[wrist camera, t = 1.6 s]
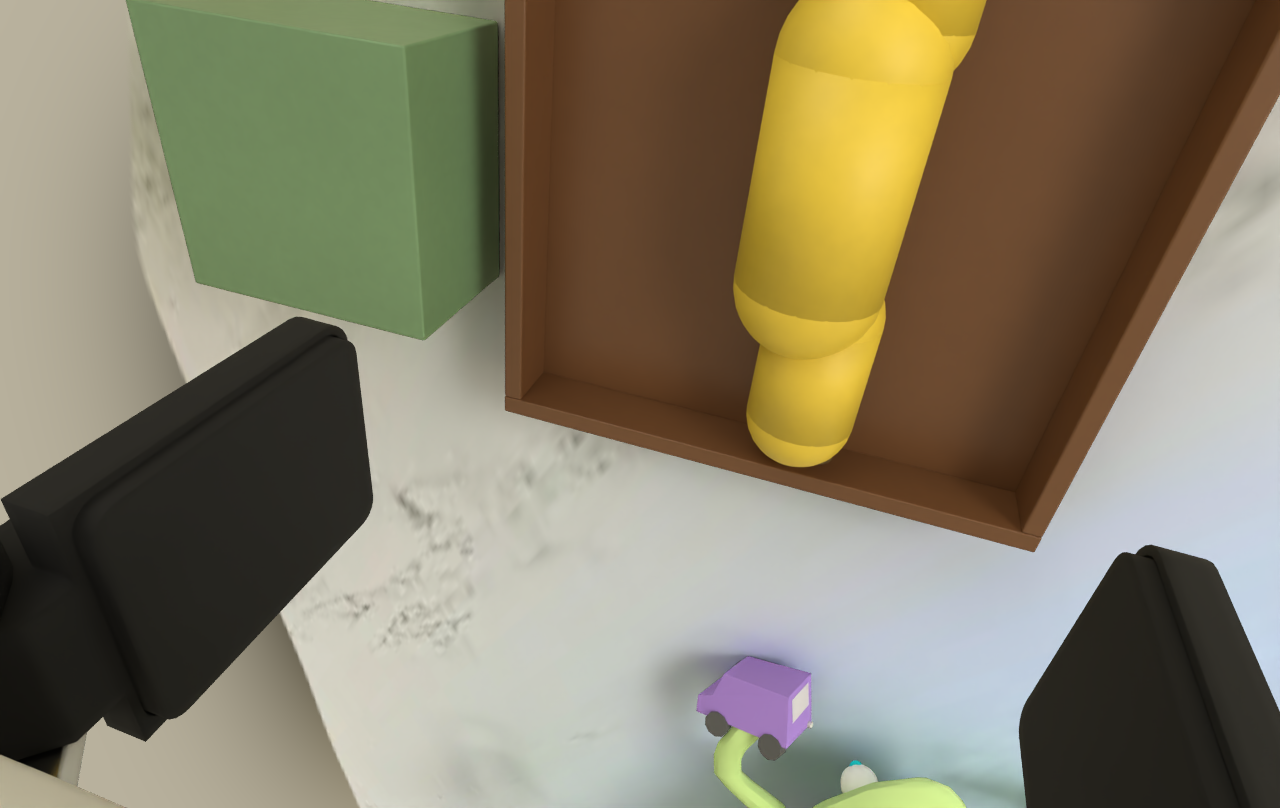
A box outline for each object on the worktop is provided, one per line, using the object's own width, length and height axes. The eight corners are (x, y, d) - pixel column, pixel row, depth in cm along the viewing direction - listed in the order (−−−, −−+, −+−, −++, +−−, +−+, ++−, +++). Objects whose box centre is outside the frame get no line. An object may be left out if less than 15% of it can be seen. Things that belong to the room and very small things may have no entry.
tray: (552, -337, 18) (502, -370, 16) (1417, -282, 14) (1501, -315, 12) (535, 374, 28) (504, 410, 26) (1025, 499, 25) (1034, 553, 23)
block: (259, -18, 24) (123, -3, 20) (498, 21, 22) (404, 46, 18) (299, 229, 28) (195, 283, 24) (499, 276, 27) (424, 341, 23)
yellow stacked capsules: (828, -271, 16) (843, -312, 13) (1040, -249, 16) (1110, -286, 13) (707, 411, 26) (697, 487, 23) (836, 433, 26) (845, 513, 22)
